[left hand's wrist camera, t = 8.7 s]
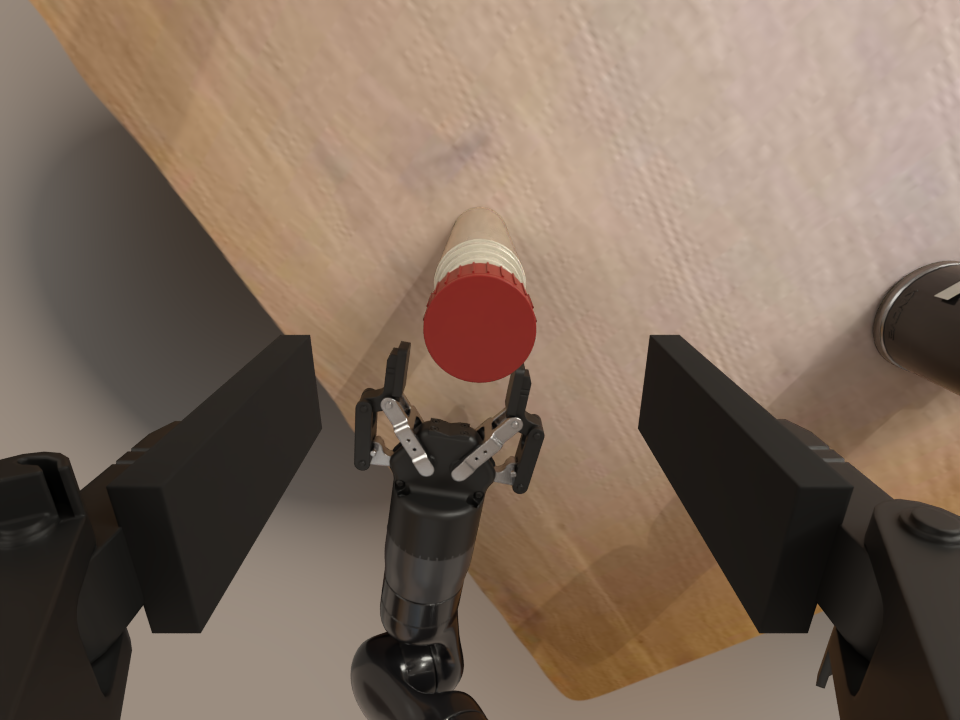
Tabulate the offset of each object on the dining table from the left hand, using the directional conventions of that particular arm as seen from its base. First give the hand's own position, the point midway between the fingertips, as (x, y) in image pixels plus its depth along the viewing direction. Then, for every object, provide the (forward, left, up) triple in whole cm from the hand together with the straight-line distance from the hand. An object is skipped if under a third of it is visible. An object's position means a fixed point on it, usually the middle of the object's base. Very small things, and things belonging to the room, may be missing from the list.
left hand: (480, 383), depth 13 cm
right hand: (+7, -4, -23) cm, 24 cm away
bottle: (0, 0, -29) cm, 29 cm away
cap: (0, 0, -5) cm, 5 cm away
